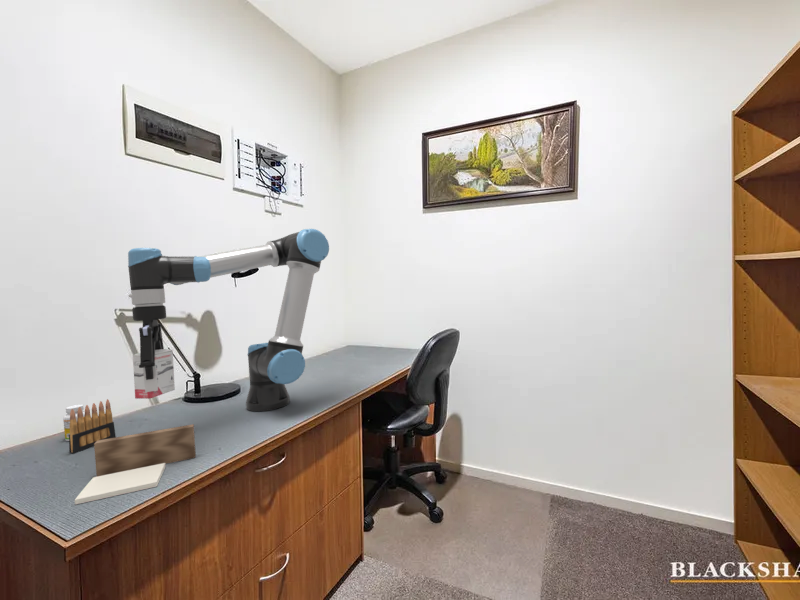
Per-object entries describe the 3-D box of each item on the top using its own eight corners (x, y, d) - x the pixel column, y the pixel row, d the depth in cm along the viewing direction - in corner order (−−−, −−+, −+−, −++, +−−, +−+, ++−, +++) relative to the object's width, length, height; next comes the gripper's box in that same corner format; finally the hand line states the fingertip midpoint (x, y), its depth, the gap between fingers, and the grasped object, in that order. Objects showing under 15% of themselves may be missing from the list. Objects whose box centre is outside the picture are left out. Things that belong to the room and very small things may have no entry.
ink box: (150, 399, 95) (146, 354, 95) (134, 399, 96) (130, 354, 96) (176, 389, 104) (173, 348, 103) (161, 389, 105) (158, 348, 105)
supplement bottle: (85, 433, 114) (83, 402, 114) (91, 436, 111) (88, 405, 111) (62, 439, 110) (60, 407, 110) (67, 443, 107) (65, 410, 107)
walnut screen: (195, 454, 94) (193, 424, 94) (194, 457, 92) (192, 426, 92) (99, 473, 86) (97, 440, 86) (96, 477, 85) (94, 443, 84)
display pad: (165, 466, 88) (165, 462, 88) (156, 486, 79) (156, 481, 79) (93, 481, 83) (93, 477, 83) (75, 504, 74) (74, 499, 74)
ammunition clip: (73, 453, 99) (70, 410, 99) (69, 453, 100) (65, 409, 99) (115, 438, 109) (113, 398, 109) (111, 437, 110) (108, 398, 109)
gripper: (142, 305, 108) (148, 380, 109) (119, 307, 88) (127, 399, 89) (172, 303, 111) (178, 376, 112) (156, 305, 91) (164, 394, 91)
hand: (155, 386), depth 100 cm, fingers closed on ink box, 9 cm apart
